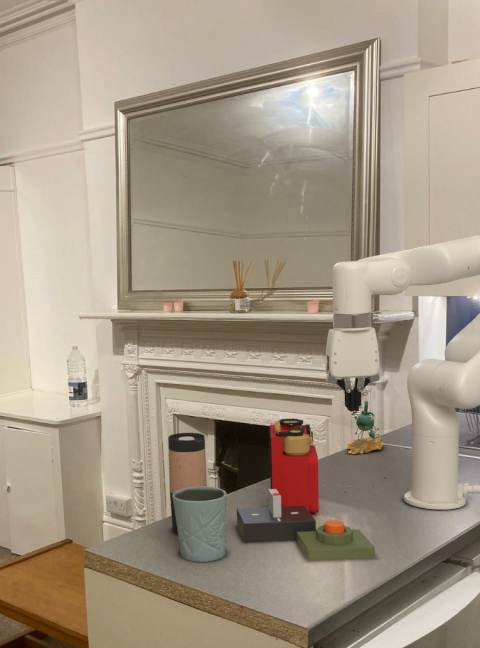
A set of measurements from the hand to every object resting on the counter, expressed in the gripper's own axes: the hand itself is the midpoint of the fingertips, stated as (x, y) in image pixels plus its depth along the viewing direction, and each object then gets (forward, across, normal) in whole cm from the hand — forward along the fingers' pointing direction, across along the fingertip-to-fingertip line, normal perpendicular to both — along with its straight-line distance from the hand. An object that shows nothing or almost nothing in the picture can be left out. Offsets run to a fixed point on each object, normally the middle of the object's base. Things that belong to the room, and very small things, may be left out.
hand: (352, 410), depth 168 cm
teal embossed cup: (+23, +34, +18) cm, 45 cm away
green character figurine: (+23, -21, -60) cm, 68 cm away
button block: (+23, +9, +19) cm, 31 cm away
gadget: (+23, +18, +8) cm, 30 cm away
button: (+19, +9, +19) cm, 29 cm away
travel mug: (+23, +35, +4) cm, 42 cm away
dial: (+19, +18, +8) cm, 27 cm away
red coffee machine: (+23, +11, -8) cm, 27 cm away
